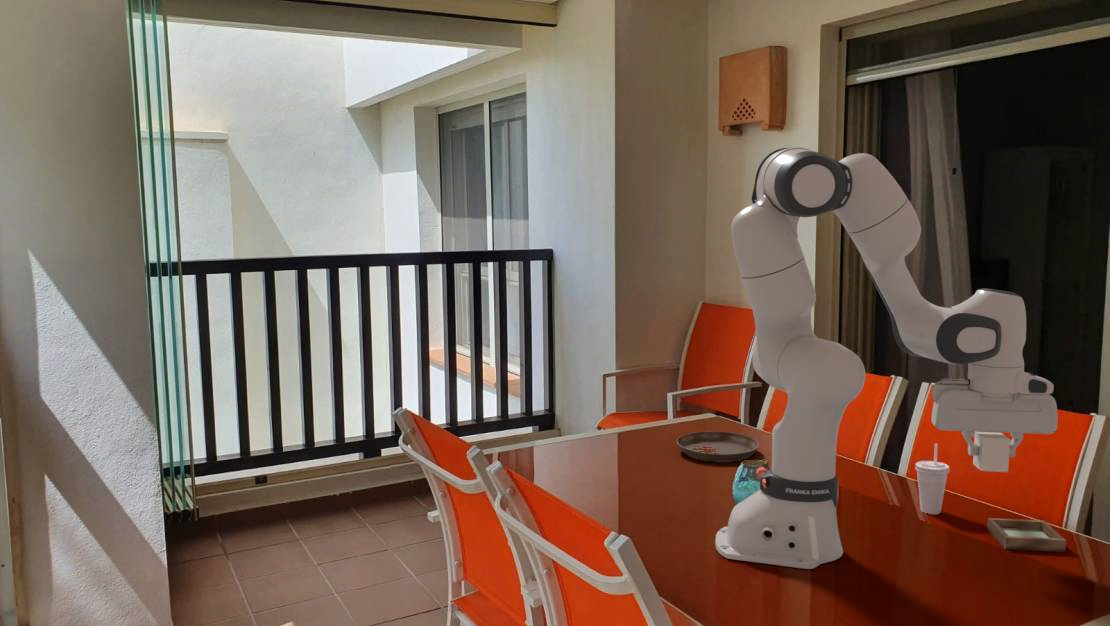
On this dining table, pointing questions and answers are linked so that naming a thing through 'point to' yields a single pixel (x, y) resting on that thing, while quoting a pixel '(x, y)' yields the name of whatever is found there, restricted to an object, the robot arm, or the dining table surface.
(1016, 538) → the rest tray
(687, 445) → the plant saucer
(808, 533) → the robot arm
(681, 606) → the dining table surface
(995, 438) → the cream block
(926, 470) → the smoothie
